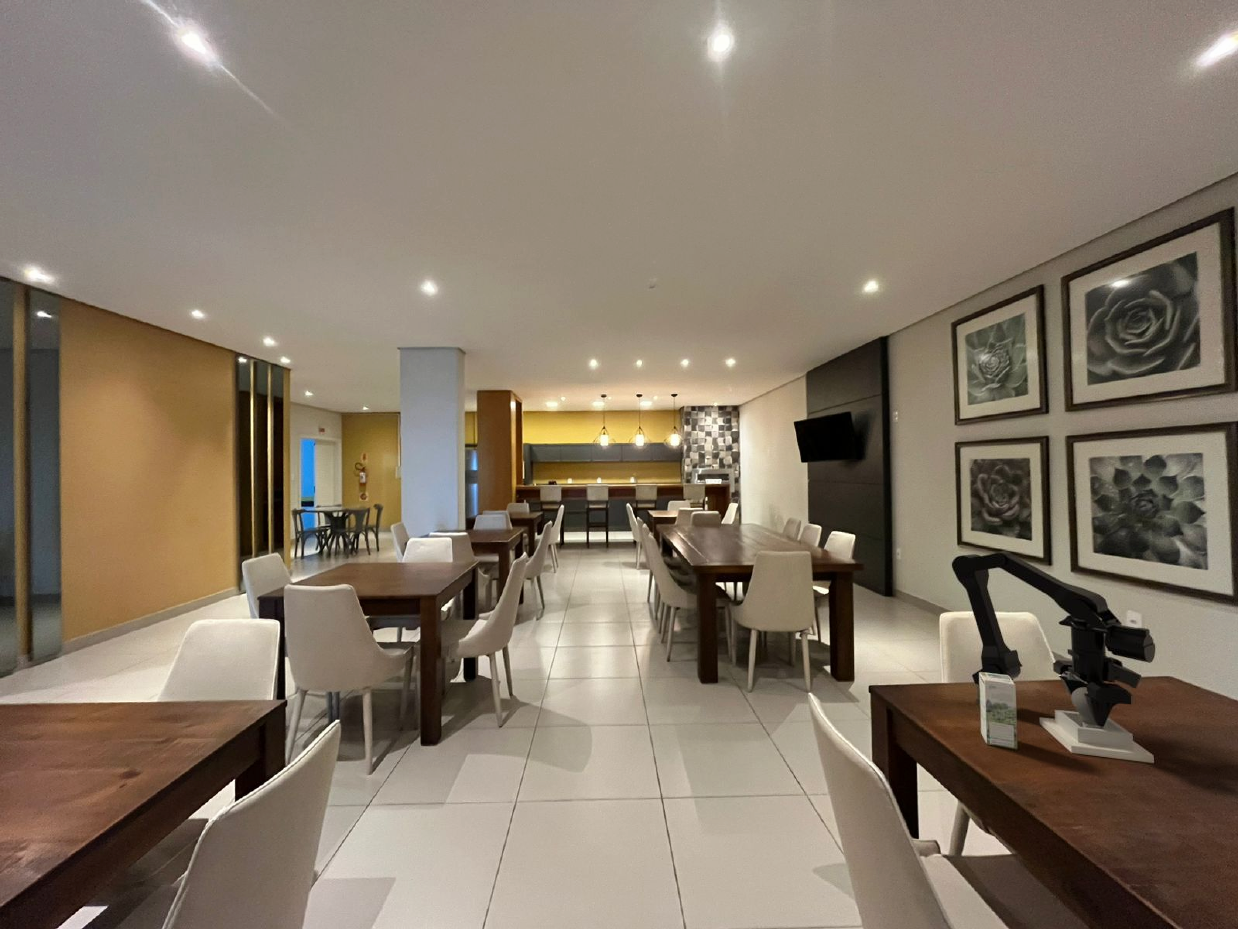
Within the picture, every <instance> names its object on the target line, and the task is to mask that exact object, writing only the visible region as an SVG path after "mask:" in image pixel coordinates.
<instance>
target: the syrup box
mask: <svg viewBox="0 0 1238 929" xmlns="http://www.w3.org/2000/svg"><path fill="white" fill-rule="evenodd" d="M979 686H980V706H979V713H980V714H979V715H980V718H979V719H980V734H981V735H982V738H983V740H984V742H985V744H986V745H991V746H995V747H1001V748H1006V749H1012V750H1013V749H1014V750H1017V749H1018V726H1017V724H1018V723H1017V721H1018V720H1017V689H1016V688H1017V686H1016V684H1015V683H1014V680H1013V681H1012V679H1011V678H1010V677H1009V676H1008V675H1001V674H992V673H984V672H979Z"/></svg>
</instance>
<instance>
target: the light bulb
mask: <svg viewBox="0 0 1238 929" xmlns="http://www.w3.org/2000/svg"><path fill="white" fill-rule="evenodd" d="M1084 693H1086V694H1088V692H1087V688H1086V687H1082V688H1078V689H1076V690H1075V691H1074V692H1073V693H1072V695H1071V696H1070V698H1071V699H1070V700H1071V703H1072V705H1073V706H1074V708H1075V709H1076V712H1079V714H1080V718H1081V720H1082V721H1083V727H1087V728H1096V729H1098V725H1097V724H1096V722H1095V720H1094V717H1093V715H1092V712H1091V710H1090V708H1089V705H1088V703H1087V700H1086V698H1085V695H1084Z"/></svg>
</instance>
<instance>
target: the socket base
mask: <svg viewBox="0 0 1238 929" xmlns="http://www.w3.org/2000/svg"><path fill="white" fill-rule="evenodd" d="M1039 725H1041V726H1042V727H1043V729H1045V730H1046V731H1048V733H1050V735H1052V736H1053V737H1054V738H1055V739H1056V740H1057V741H1058V742H1059V743H1060V744H1062V746H1064V747H1065V748H1066V749H1067V750H1068V751H1069V752H1070V753H1072V754H1077V755H1079V754H1080V755H1087V756H1095V757H1104V758H1111V759H1119V760H1125V761H1134V762H1142V763H1150V764H1154V763H1155V759H1154V758H1155V757H1154V754H1152V753H1151V752H1149V751H1148V750H1146V749H1145V748H1143V746H1141V745H1139V744H1138V743H1137V742H1135V741H1134V737H1133V736H1134V735H1133V734H1132V733H1131V732H1130V731H1128V730H1127V729H1126V728H1124V727H1122V725H1120V724H1119V723H1117V722H1116V721H1114V720H1113V719H1111V718H1110V717H1108V718H1107V721H1106V723H1105V725H1104V727H1101V726H1098V729H1096V728H1087V727H1083V721H1082V720H1081V718H1080V714H1079V712H1078V711H1073V710H1071V711H1070V710H1062V709H1061V710H1060V709H1054V718H1049V717H1048V718H1047V717H1039Z"/></svg>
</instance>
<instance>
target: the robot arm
mask: <svg viewBox="0 0 1238 929" xmlns="http://www.w3.org/2000/svg"><path fill="white" fill-rule="evenodd" d="M951 568H952V570H953V573H954V575H955V577H956V579H957V581H958V582H959V583H960V584H961V585H962V587H963V588H964V589H965V590H966V592H967V598H968V601H969V604H970V607H971V610H972V614H973V617H974V619H975V623H976V628H977V630H978V634H979V637H980V640H981V644H982V648H981V655H980V660H981V661H980V662H981V669H979V670H977V671H976V672H974V673H972V675H971V677H972V679H973V682H974V684H975V685H976V687H977V699H975V702H976V704H978V705H979V707H980V686H979V672H984V673H992V674H1001V675H1008V676H1009V677H1010V678H1011V679H1012V681H1013V682H1014V679H1017V678H1018V677H1019V676H1020V674H1021V668H1022V667H1023V664H1022V662H1020V658H1019V653H1018V650H1017V649H1013V650H1012V649H1010V647H1008V645H1007V644H1006V643H1005V640H1004V637H1003V633H1002V631H1001V627H1000V624H999V621H998V618H997V614H996V611H995V609H994V605H993V601H992V599H991V594H990V592H989V589H988V588H989V587H988V586H989V585H988V584H989V581H990V580H989V579H990V573H989V570H993V569H1001V570H1003V571H1005V573H1008V574H1010V575H1011V576H1013V577H1015V578H1017V579H1019V580H1020V581H1022V582H1023V583H1026V584H1027V585H1029V586H1030V587H1033V588H1034V589H1036V590H1037V591H1040V592H1041V593H1043V594H1045V595H1046V596H1048V597H1049V598H1050V599H1052V601H1054V602H1055V603H1056V605H1057V606H1058V607H1059V608H1060V609H1062V610H1063V611H1064V612H1066V613H1067V614H1068V615H1066V617H1065V618H1063V619H1062V620H1060V621H1058V624H1059V625H1060V626H1064V627H1070V640H1071V641H1070V642H1071V644H1070V645H1071V648H1070V649H1069V648H1067V654H1068V655H1070V656H1071V660H1061V659H1060V660H1059V659H1056V660H1055V661H1054V662H1053V663H1052V668H1053V672H1054V673H1056V674H1057V675H1058V678H1059V679H1060V680H1061V682H1062V683H1063V685H1064V687H1065V688H1066V690H1067V692H1068V694H1069V696H1070V697H1071V695H1072V693H1073V692H1074V691H1075V690H1076V689H1078V688H1082V687H1086V688H1087V692H1088V694H1086V693H1084V695H1085V698H1086V700H1087V703H1088V705H1089V708H1090V710H1091V712H1092V715H1093V717H1094V720H1095V722H1096V724H1097V725H1098V726H1101V727H1104V725H1105V723H1106V721H1107V718H1109V716H1110V714H1111V711H1112V710H1113V708H1114V706H1116V705H1120V704H1121V705H1133V703H1134V700H1133V699H1134V698H1133V694H1132V693H1131V692H1129V690H1127V689H1126V688H1124V687H1123V686H1122V685H1119V684H1118V683H1116V681H1117V682H1119V683H1122V684H1124V685H1127V686H1129V687H1131V689H1137V688H1138V685H1139V683H1140V681H1141V678H1142V674H1139V673H1138V672H1136V671H1134V670H1132V669H1130V668H1128V667H1125V666H1124V665H1123V661H1121V660H1119V659H1118V658H1115V657H1112V656H1107V651H1108V652H1111V654H1112V655H1114V656H1117V657H1122V658H1126V659H1130V660H1131V659H1132V660H1135V661H1140V662H1144V663H1149V664H1150V663H1152V662H1153V661H1154V659H1155V656H1156V643H1154V639H1153V637H1152V635H1151V634H1150V631H1151V630H1150V629H1149V628H1145V627H1135V626H1130V625H1129V626H1128V625H1123V624H1122V622H1121V620H1119V619H1118V617H1117V616H1116V615H1115V614H1114V613H1113V612H1112V610H1110V608H1109V605H1108V603H1107V600H1106V598H1104V596H1102V595H1100V594H1099V593H1097V592H1094V591H1091V590H1088V589H1086V588H1083V587H1081V586H1076V585H1073V584H1069V583H1066V582H1064V581H1061V580H1060V579H1059V578H1056V577H1054V576H1053V575H1051V574H1049V573H1047V572H1046V571H1044V570H1041V569H1040V568H1038V567H1036V566H1034V565H1032V564H1030V562H1029V563H1028V562H1027V561H1025V560H1023V559H1021V558H1020V557H1017V556H1015V554H1013V552H1012V553H1011V552H1010V551H1006V550H1004V551H996V552H994V553H990V554H985V555H979V554H976V553H972V554H970V553H969V554H964V555H958V556H956V557H954V559H953V560H952V562H951Z"/></svg>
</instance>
